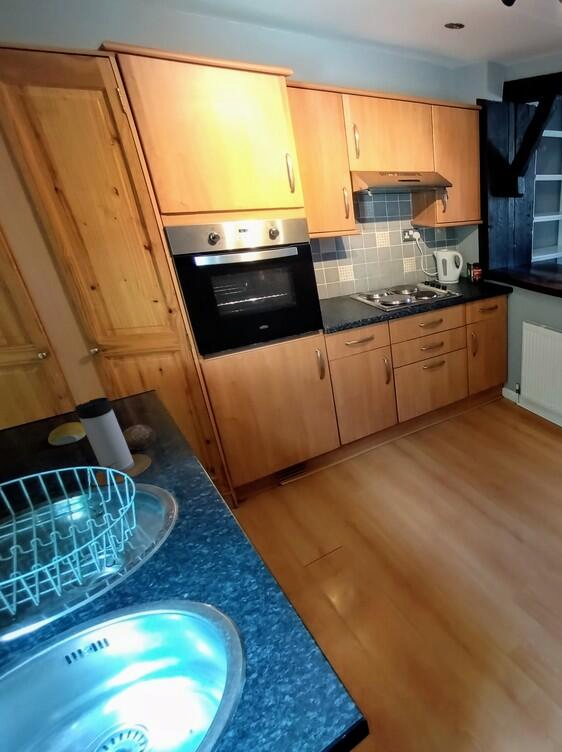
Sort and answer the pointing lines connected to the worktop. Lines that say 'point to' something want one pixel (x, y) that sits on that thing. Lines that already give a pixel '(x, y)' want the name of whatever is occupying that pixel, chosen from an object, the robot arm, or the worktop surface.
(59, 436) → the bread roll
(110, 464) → the travel mug
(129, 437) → the mushroom
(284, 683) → the worktop surface
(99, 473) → the cork coaster
